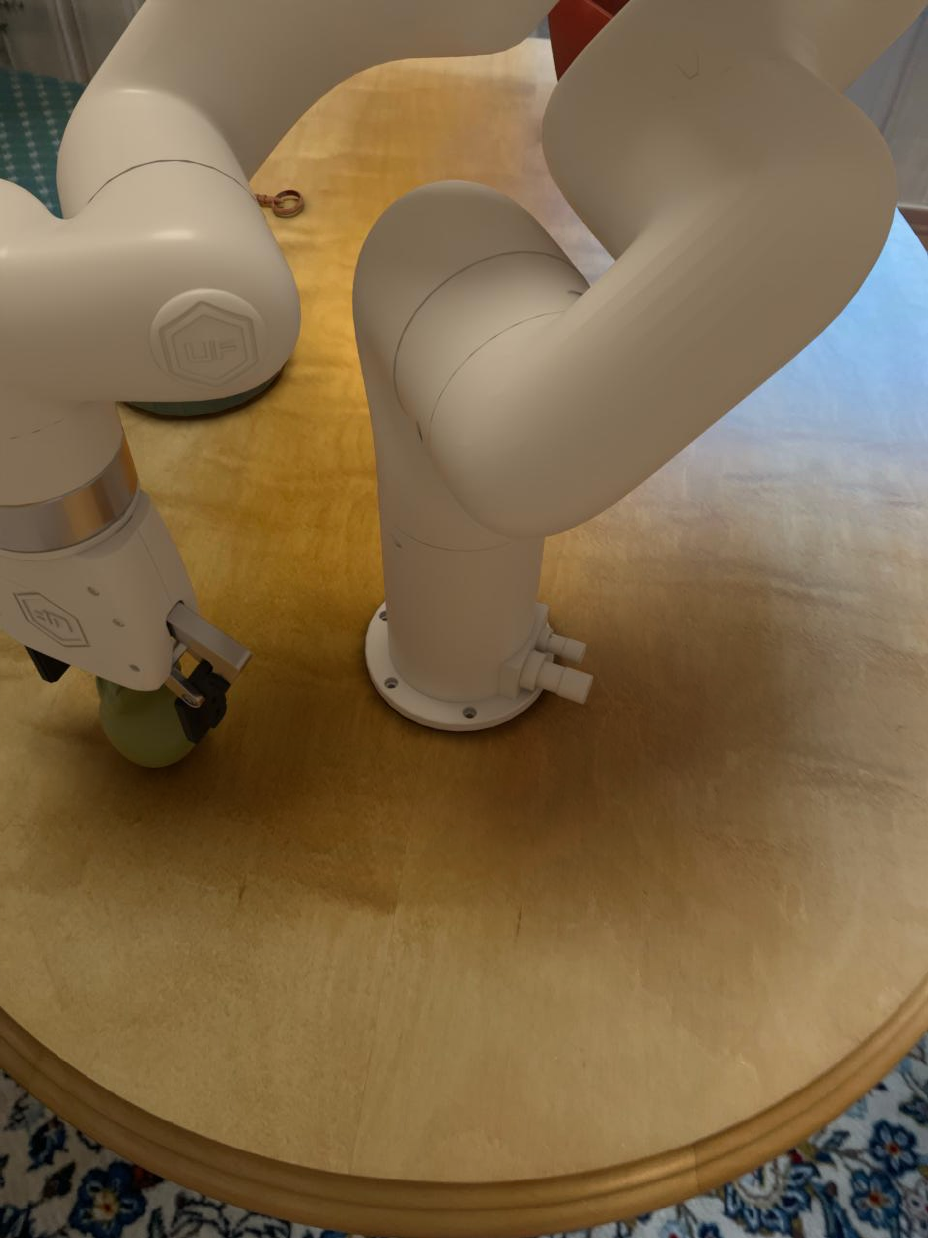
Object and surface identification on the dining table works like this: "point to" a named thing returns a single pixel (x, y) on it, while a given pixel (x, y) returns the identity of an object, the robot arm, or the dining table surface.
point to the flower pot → (577, 27)
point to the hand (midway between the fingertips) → (135, 692)
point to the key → (281, 201)
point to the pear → (143, 723)
